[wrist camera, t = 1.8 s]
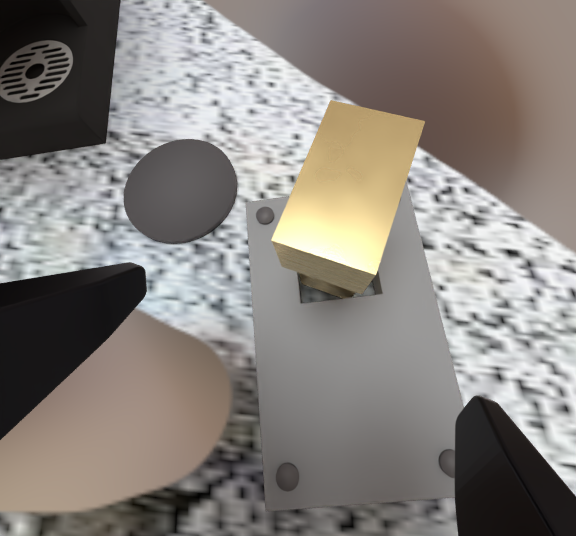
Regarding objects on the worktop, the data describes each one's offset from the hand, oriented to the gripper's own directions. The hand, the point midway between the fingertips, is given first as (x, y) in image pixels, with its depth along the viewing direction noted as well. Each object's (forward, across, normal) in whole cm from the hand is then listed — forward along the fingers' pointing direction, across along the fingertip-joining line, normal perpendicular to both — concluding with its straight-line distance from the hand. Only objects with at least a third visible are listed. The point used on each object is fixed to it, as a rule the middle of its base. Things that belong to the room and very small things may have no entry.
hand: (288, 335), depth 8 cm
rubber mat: (+14, +13, +3) cm, 20 cm away
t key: (+13, 0, +5) cm, 13 cm away
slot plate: (+10, -2, +7) cm, 12 cm away
